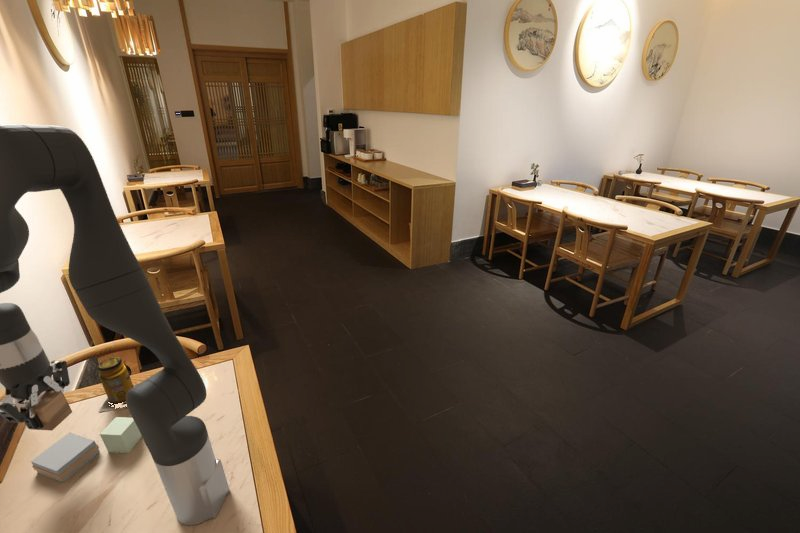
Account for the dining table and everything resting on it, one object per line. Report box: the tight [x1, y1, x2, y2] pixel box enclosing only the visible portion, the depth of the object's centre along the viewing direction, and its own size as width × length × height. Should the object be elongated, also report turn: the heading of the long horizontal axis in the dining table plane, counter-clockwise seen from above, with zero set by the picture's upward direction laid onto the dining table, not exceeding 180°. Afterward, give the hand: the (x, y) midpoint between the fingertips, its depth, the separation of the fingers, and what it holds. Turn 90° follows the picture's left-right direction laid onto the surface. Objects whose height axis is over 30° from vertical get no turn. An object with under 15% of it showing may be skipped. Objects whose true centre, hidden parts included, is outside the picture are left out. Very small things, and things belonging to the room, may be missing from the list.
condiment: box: [97, 356, 135, 413], centre depth 99 cm, size 7×8×12 cm
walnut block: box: [16, 391, 73, 431], centre depth 78 cm, size 5×5×6 cm
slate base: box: [30, 432, 101, 483], centre depth 84 cm, size 8×8×4 cm
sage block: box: [99, 416, 142, 454], centre depth 88 cm, size 5×5×6 cm
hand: (50, 417), depth 79 cm, fingers closed on walnut block, 5 cm apart
